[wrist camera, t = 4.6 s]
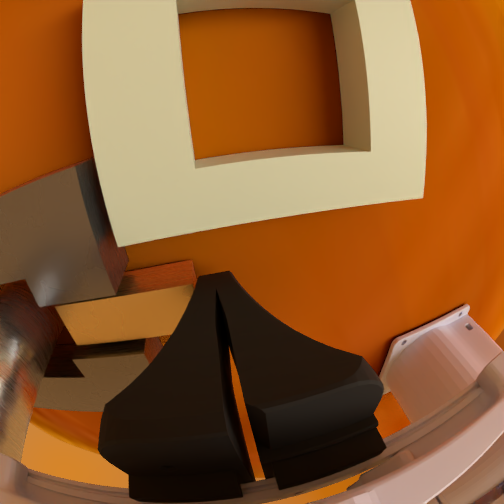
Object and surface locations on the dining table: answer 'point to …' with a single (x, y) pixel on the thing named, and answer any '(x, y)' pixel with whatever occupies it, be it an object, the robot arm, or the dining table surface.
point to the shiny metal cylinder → (22, 360)
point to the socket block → (70, 279)
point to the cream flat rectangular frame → (258, 162)
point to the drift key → (133, 306)
